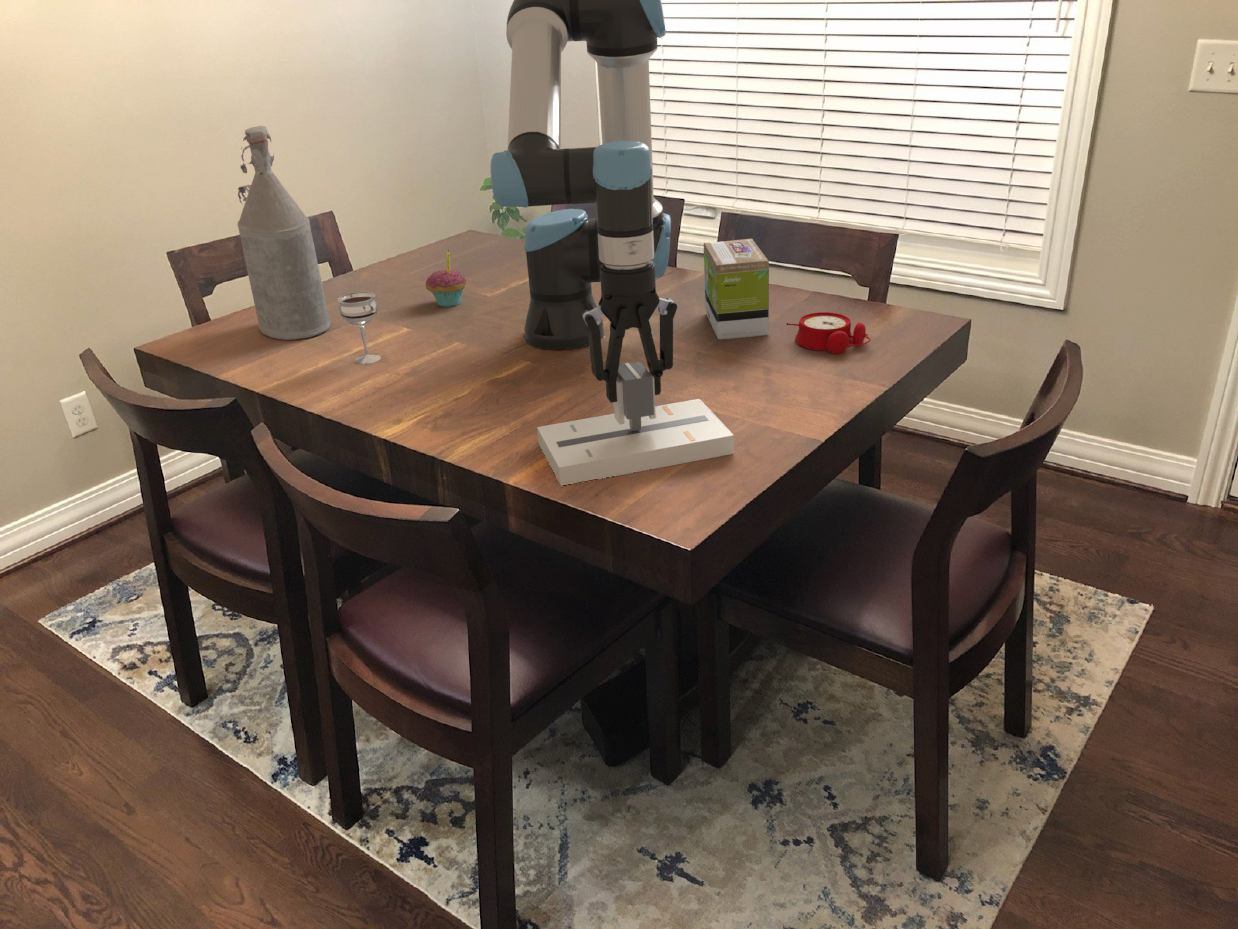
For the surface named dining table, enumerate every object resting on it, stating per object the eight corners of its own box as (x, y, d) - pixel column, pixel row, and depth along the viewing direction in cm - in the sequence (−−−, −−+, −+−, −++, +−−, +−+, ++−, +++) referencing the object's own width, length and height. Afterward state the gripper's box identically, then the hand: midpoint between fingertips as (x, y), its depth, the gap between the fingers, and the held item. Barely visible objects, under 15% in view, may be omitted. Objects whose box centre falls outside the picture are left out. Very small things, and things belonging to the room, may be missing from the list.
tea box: (703, 314, 202) (702, 240, 195) (753, 310, 203) (754, 236, 196) (716, 340, 189) (715, 263, 182) (769, 336, 189) (771, 258, 182)
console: (538, 445, 154) (537, 426, 153) (699, 416, 160) (699, 398, 159) (560, 486, 142) (559, 467, 141) (733, 453, 148) (733, 434, 147)
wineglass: (373, 349, 194) (362, 289, 189) (393, 357, 190) (382, 296, 184) (342, 360, 190) (330, 298, 185) (361, 368, 186) (350, 306, 180)
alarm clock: (816, 307, 191) (881, 307, 180) (821, 340, 193) (885, 342, 182) (778, 322, 186) (843, 323, 174) (783, 355, 188) (847, 358, 176)
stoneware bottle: (296, 312, 217) (255, 118, 198) (345, 327, 207) (307, 124, 188) (243, 330, 208) (195, 129, 190) (292, 346, 198) (246, 136, 180)
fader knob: (616, 422, 152) (613, 365, 147) (642, 417, 153) (639, 360, 148) (628, 439, 146) (625, 380, 142) (655, 434, 147) (652, 375, 143)
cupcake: (477, 299, 218) (470, 244, 212) (451, 312, 211) (443, 255, 206) (446, 294, 222) (439, 240, 216) (420, 306, 216) (411, 251, 210)
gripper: (572, 277, 133) (584, 438, 144) (695, 260, 137) (698, 418, 147) (559, 262, 139) (572, 417, 150) (677, 246, 143) (681, 398, 154)
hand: (635, 417), depth 149 cm, fingers closed on fader knob, 4 cm apart
